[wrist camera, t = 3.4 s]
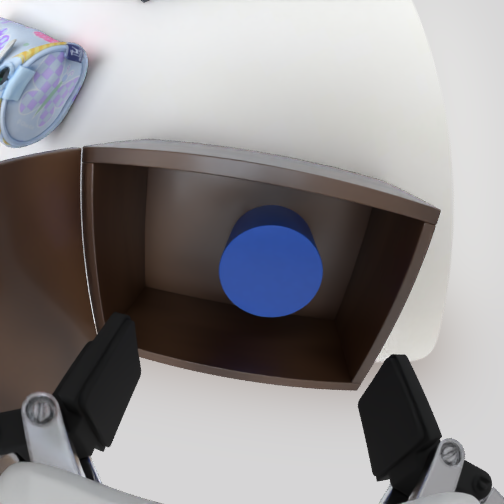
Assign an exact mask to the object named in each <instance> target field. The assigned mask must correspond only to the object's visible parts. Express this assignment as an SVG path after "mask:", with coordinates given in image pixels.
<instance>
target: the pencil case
mask: <svg viewBox="0 0 504 504" xmlns="http://www.w3.org/2000/svg"><path fill="white" fill-rule="evenodd" d="M87 68H88V58H87V54H86V52H85V50H84V49H83V48H82V47H81V46H79V45H78V44H75V43H71V42H59V41H57V40H55V39H53V38H51V37H49V36H48V35H46V34H44V33H43V32H41V31H39V30H36V29H33V28H29V27H26V26H24V25H22V24H19V23H16V22H12V21H10V20H7V19H4V18H1V17H0V142H2V143H3V144H4V145H6V146H8V147H12V148H20V147H24V146H28V145H31V144H33V143H36V142H38V141H40V140H41V139H43V138H45V137H46V136H47V135H49V134H50V133H51V132H52V131H53V130H54V129H55V128H56V127H57V126H58V125H59V124H60V123H61V122H62V120H63V119H64V117H65V116H66V114H67V112H68V111H69V109H70V107H71V105H72V103H73V101H74V99H75V98H76V96H77V94H78V92H79V90H80V88H81V86H82V84H83V82H84V79H85V77H86V73H87Z"/></svg>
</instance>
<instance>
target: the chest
mask: <svg viewBox="0 0 504 504" xmlns="http://www.w3.org/2000/svg"><path fill="white" fill-rule="evenodd" d="M82 162H83V163H82V221H83V237H84V249H85V259H86V268H87V276H88V283H89V290H90V296H91V302H92V308H93V313H94V318H95V323H96V327H97V332H98V333H99V332H100V330H101V329H102V327H103V326H104V325H105V323H106V322H107V320H108V319H109V318H110V316H111V315H112V314H113V313H114V312H118V313H121V314H125V315H129V316H130V318H131V320H132V321H134V322H135V330H136V338H137V346H138V353H139V357H142V358H145V359H149V360H152V361H156V362H160V363H164V364H168V365H172V366H176V367H180V368H184V369H188V370H193V371H197V372H202V373H207V374H212V375H217V376H222V377H228V378H234V379H239V380H245V381H252V382H259V383H266V384H274V385H283V386H292V387H303V388H315V389H332V390H357V389H358V388H359V386H360V385H361V383H362V381H363V380H364V378H365V376H366V375H367V373H368V372H369V370H370V368H371V367H372V365H373V363H374V362H375V360H376V358H377V356H378V355H379V353H380V351H381V349H382V348H383V346H384V344H385V342H386V340H387V338H388V337H389V335H390V333H391V331H392V329H393V327H394V325H395V323H396V321H397V319H398V317H399V315H400V313H401V311H402V309H403V307H404V305H405V303H406V300H407V298H408V296H409V294H410V292H411V289H412V287H413V285H414V282H415V280H416V278H417V275H418V273H419V270H420V268H421V265H422V263H423V260H424V258H425V255H426V252H427V250H428V247H429V244H430V241H431V239H432V236H433V233H434V230H435V225H436V224H437V221H438V218H439V215H440V211H441V210H440V209H438V208H436V207H434V206H433V205H431V204H429V203H427V202H425V201H423V200H421V199H419V198H418V197H416V196H414V195H412V194H410V193H408V192H406V191H404V190H402V189H400V188H398V187H396V186H394V185H391V184H389V183H387V182H385V181H382V180H379V179H375V178H372V177H368V176H365V175H361V174H357V173H354V172H350V171H346V170H342V169H338V168H334V167H330V166H326V165H322V164H317V163H313V162H308V161H304V160H299V159H294V158H289V157H284V156H279V155H273V154H268V153H262V152H256V151H250V150H244V149H238V148H231V147H224V146H216V145H208V144H200V143H190V142H180V141H169V140H156V139H140V140H129V141H120V142H112V143H104V144H97V145H90V146H84V147H83V153H82ZM266 205H276V206H282V207H285V208H288V209H290V210H292V211H294V212H296V213H297V214H298V215H300V216H301V217H302V218H303V219H304V220H305V222H306V223H307V225H308V226H309V228H310V230H311V233H312V236H313V238H314V241H315V244H316V246H317V249H318V252H319V254H320V257H321V260H322V265H323V277H322V282H321V285H320V287H319V290H318V291H317V293H316V295H315V296H314V297H313V299H312V300H311V301H310V302H309V303H308V304H307V305H306V306H304V307H303V308H301V309H300V310H298V311H296V312H294V313H292V314H289V315H285V316H281V317H261V316H257V315H253V314H250V313H248V312H246V311H244V310H242V309H240V308H239V307H238V306H236V305H235V304H234V303H233V302H232V301H231V300H230V299H229V298H228V296H227V295H226V294H225V292H224V290H223V288H222V285H221V283H220V278H219V263H220V259H221V256H222V253H223V251H224V248H225V246H226V243H227V241H228V239H229V236H230V234H231V231H232V229H233V227H234V225H235V224H236V222H237V221H238V220H239V219H240V218H241V217H242V216H243V215H244V214H245V213H247V212H248V211H250V210H252V209H254V208H257V207H260V206H266Z"/></svg>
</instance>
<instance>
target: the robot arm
mask: <svg viewBox="0 0 504 504" xmlns="http://www.w3.org/2000/svg"><path fill="white" fill-rule="evenodd" d="M140 375H141V367H140V361H139V353H138V346H137V338H136V330H135V322H134V321H132V320H131V318H130V316H129V315H125V314H121V313H118V312H114V313H113V314H112V315H111V316H110V318H109V319H108V320H107V322H106V323H105V325H104V326H103V327H102V329H101V330H100V332H99V333H98V334H97V336H96V337H95V339H94V340H93V341H89V342H88V343H87V344H86V345H85V346H84V348H83V349H82V350H81V352H80V353H79V355H78V356H77V358H76V359H75V361H74V362H73V364H72V365H71V366H70V368H69V369H68V371H67V372H66V374H65V375H64V377H63V379H62V380H61V382H60V383H59V385H58V386H57V388H56V389H55V391H54V392H53V394H52V395H51V394H49V393H47V392H44V391H37V392H34V393H31V394H30V395H28V396H27V397H26V398H25V399H24V401H23V403H22V406H21V408H20V409H15V410H11V411H6V412H1V413H0V504H162V503H158V502H154V501H150V500H147V499H143V498H141V497H137V496H134V495H131V494H128V493H125V492H122V491H119V490H116V489H113V488H111V487H108V486H106V485H103V484H102V482H101V480H100V478H99V475H98V473H97V471H96V469H95V466H94V464H93V461H92V459H91V455H92V453H93V451H94V448H95V449H98V450H100V451H104V449H105V447H109V446H110V445H111V443H112V441H113V439H114V436H115V434H116V431H117V429H118V426H119V424H120V422H121V419H122V417H123V415H124V412H125V410H126V408H127V405H128V403H129V401H130V398H131V396H132V394H133V391H134V389H135V387H136V385H137V382H138V380H139V378H140ZM358 408H359V413H360V417H361V421H362V426H363V430H364V434H365V439H366V443H367V448H368V453H369V458H370V463H371V468H372V472H373V475H374V476H376V478H377V481H383V480H388V479H390V483H391V484H390V486H389V488H388V489H387V491H386V493H385V494H384V496H383V498H382V499H381V501H380V502H379V504H504V498H503V496H502V495H501V494H500V493H499V492H498V491H497V490H496V489H495V488H494V487H493V488H492V489H491V487H492V481H491V477H490V476H489V474H488V473H487V472H485V471H483V470H482V469H480V468H478V467H476V466H474V465H472V464H471V463H469V462H467V461H465V460H464V459H465V452H464V449H463V447H462V445H461V444H460V443H459V442H458V441H457V440H454V439H452V438H449V439H444V440H442V441H440V438H441V437H442V435H441V433H440V430H439V427H438V425H437V422H436V420H435V417H434V415H433V412H432V410H431V408H430V406H429V403H428V401H427V398H426V396H425V394H424V392H423V389H422V387H421V385H420V383H419V381H418V379H417V376H416V374H415V372H414V370H413V368H412V366H411V364H410V362H409V360H408V358H407V356H406V355H396V354H393V355H391V356H390V357H389V358H387V359H386V360H385V361H384V363H383V365H382V366H381V368H380V369H379V371H378V373H377V374H376V376H375V378H374V379H373V381H372V382H371V383H370V385H369V387H368V388H367V389H366V391H365V393H364V394H363V395H362V397H361V398H360V400H359V402H358Z"/></svg>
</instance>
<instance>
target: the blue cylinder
mask: <svg viewBox="0 0 504 504" xmlns="http://www.w3.org/2000/svg"><path fill="white" fill-rule="evenodd" d="M322 277H323V265H322V260H321V257H320V254H319V252H318V249H317V246H316V244H315V241H314V238H313V236H312V233H311V230H310V228H309V226H308V225H307V223H306V222H305V220H304V219H303V218H302V217H301V216H300V215H298V214H297V213H296V212H294V211H292V210H290V209H288V208H285V207H282V206H276V205H266V206H260V207H257V208H254V209H252V210H250V211H248V212H247V213H245V214H244V215H243V216H242V217H241V218H240V219H239V220H238V221H237V222H236V224H235V225H234V227H233V229H232V231H231V234H230V236H229V239H228V241H227V243H226V246H225V248H224V251H223V253H222V256H221V259H220V263H219V278H220V283H221V285H222V288H223V290H224V292H225V294H226V295H227V296H228V298H229V299H230V300H231V301H232V302H233V303H234V304H235V305H236V306H238V307H239V308H240V309H242V310H244V311H246V312H248V313H250V314H253V315H257V316H261V317H281V316H285V315H289V314H292V313H294V312H296V311H298V310H300V309H301V308H303V307H304V306H306V305H307V304H308V303H309V302H310V301H311V300H312V299H313V297H314V296H315V295H316V293H317V291H318V290H319V287H320V285H321V282H322Z"/></svg>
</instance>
